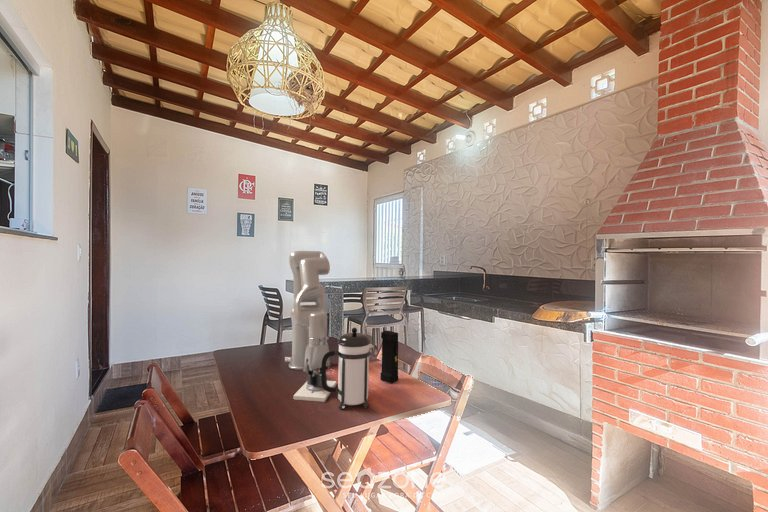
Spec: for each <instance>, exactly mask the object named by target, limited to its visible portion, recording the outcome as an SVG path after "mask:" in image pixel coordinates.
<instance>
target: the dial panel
mask: <svg viewBox="0 0 768 512" xmlns="http://www.w3.org/2000/svg"><path fill="white" fill-rule="evenodd" d="M306 385H307V381H305V382H304V384H303V385H302V386H301V387H300V388H299V389H298V390H297V391H296V392H295V394H294V395H293V398H292V399H294V400H295V401H309V402H321V403H322V402H323V403H324V402H325V403H326V401H327V399H328V397H329V396H330V395H331V393H332V392H328V391H326V390H320V391H310V390H308V389H306ZM327 386H329V387H337V381H336V380H327Z"/></svg>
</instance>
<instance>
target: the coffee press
mask: <svg viewBox="0 0 768 512" xmlns="http://www.w3.org/2000/svg"><path fill="white" fill-rule="evenodd" d="M337 344H338V349H337V350H331V351H330V350H329V352H327V353H326V354H325V355H324V357H323V359H322V369H321V383H322V387H323V388H324V390H326V391H328V392H331V393H337V398H338V401H339V402H340V405H339V406H338V408H339V410H342V411H343V410H344V409H345V407H346V406H347V405H348V406H357V405H362V406H363V408H364V409H367V408H369V407H370V405H369V402H368V400H369V399H368V398H369V380H370V379H369V378H370V377H369V376H370V375H369V374H370V373H369V372H370V355H371V354H370V353H371V351H370V348H374V345H373V344H372V342H371V339H370V338H369V336H368V335H367V334H365V333H362V332H358V328H357V327H352V328H351V330H350V332H346V333H344V334H342V335H340V337H339V339H338V340H337ZM333 356H338V371H337V372H338V373H337V374H338V376H337V377H338V379H337V384H338V385H337V386H335V387H329V386H327V384H326V374H327V370H326V361H327V359H328V358H329V359H330V357H333Z"/></svg>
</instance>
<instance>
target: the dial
mask: <svg viewBox="0 0 768 512" xmlns="http://www.w3.org/2000/svg"><path fill="white" fill-rule="evenodd" d="M319 372H320V371H319ZM319 372H318V371H315V376H316V386H313V385H311V383H310V375H309V374H308V373H306V375H307V380H306V382H307V385H306V389H308V390H310V391H320V390H324V388H323V387H322V383H321V373H319ZM327 381H328V373H326V384H327Z"/></svg>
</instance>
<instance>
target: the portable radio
mask: <svg viewBox="0 0 768 512" xmlns="http://www.w3.org/2000/svg"><path fill="white" fill-rule="evenodd" d="M380 338H381V372H380V381H383V382H385V383H387V384H392V383H393V384H394V383H395V382H398V381H399V333H398V332H395V331H390V330H386V325H385V326H384V330H383V331H381V333H380Z"/></svg>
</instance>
